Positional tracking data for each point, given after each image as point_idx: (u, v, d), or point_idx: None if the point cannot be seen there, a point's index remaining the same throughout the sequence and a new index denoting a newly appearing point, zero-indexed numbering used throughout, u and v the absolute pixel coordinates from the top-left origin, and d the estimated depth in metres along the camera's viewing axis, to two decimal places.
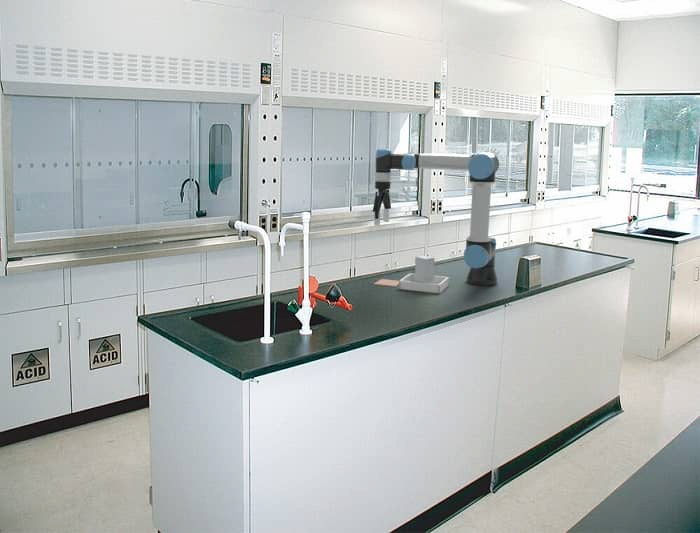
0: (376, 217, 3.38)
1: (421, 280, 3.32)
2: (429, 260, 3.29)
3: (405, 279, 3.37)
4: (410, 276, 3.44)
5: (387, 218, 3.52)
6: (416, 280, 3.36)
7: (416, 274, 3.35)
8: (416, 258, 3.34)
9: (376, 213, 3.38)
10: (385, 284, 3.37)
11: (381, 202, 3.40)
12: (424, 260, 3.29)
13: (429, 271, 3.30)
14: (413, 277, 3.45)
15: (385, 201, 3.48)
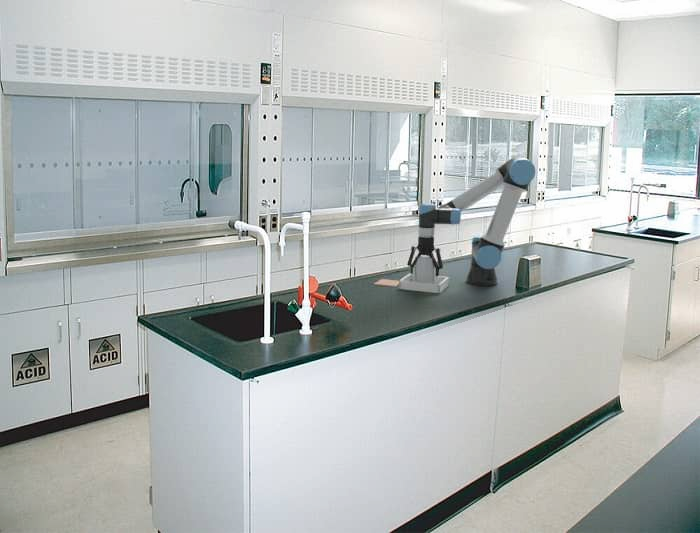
0: None
1: (421, 280, 3.32)
2: (429, 260, 3.29)
3: (405, 279, 3.37)
4: (410, 276, 3.44)
5: None
6: (416, 280, 3.36)
7: (416, 274, 3.35)
8: None
9: None
10: (385, 284, 3.37)
11: (417, 257, 3.33)
12: (424, 260, 3.29)
13: (429, 271, 3.30)
14: None
15: None
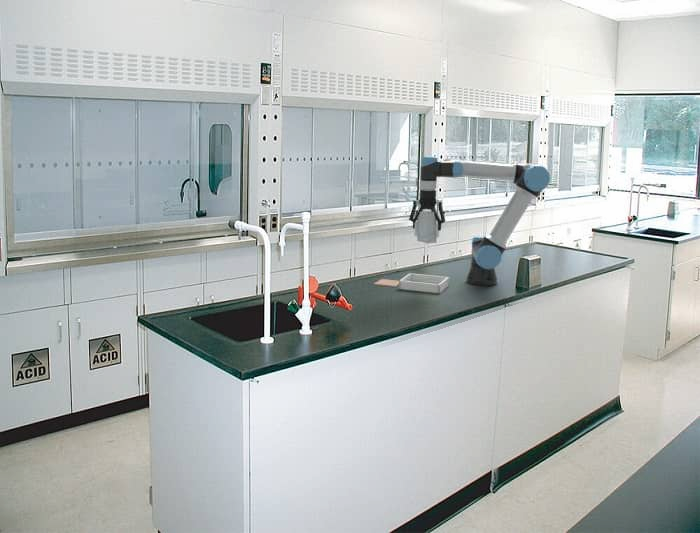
0: None
1: (423, 235, 3.28)
2: (431, 214, 3.25)
3: (405, 279, 3.37)
4: (410, 276, 3.44)
5: None
6: (418, 235, 3.31)
7: (418, 229, 3.30)
8: None
9: None
10: (385, 284, 3.37)
11: (419, 212, 3.28)
12: (426, 214, 3.24)
13: (431, 225, 3.26)
14: (413, 277, 3.45)
15: None
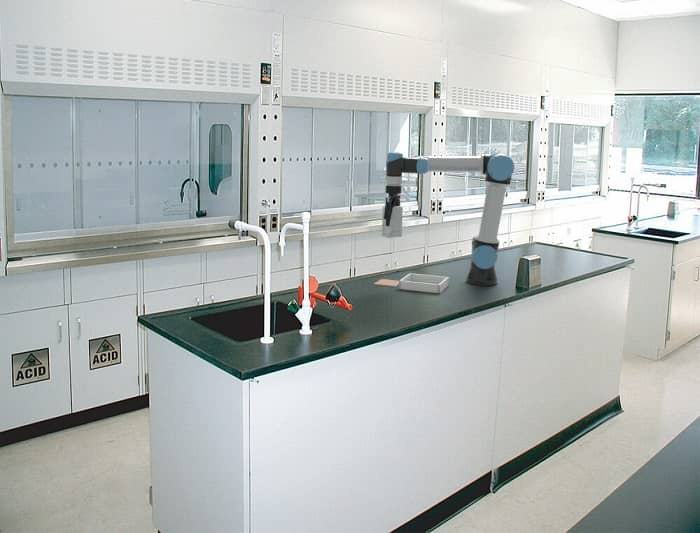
0: (387, 224, 3.28)
1: (397, 229, 3.33)
2: None
3: (405, 279, 3.37)
4: (410, 276, 3.44)
5: None
6: None
7: None
8: None
9: (387, 220, 3.28)
10: (385, 284, 3.37)
11: (392, 208, 3.29)
12: (401, 208, 3.32)
13: None
14: (413, 277, 3.45)
15: None
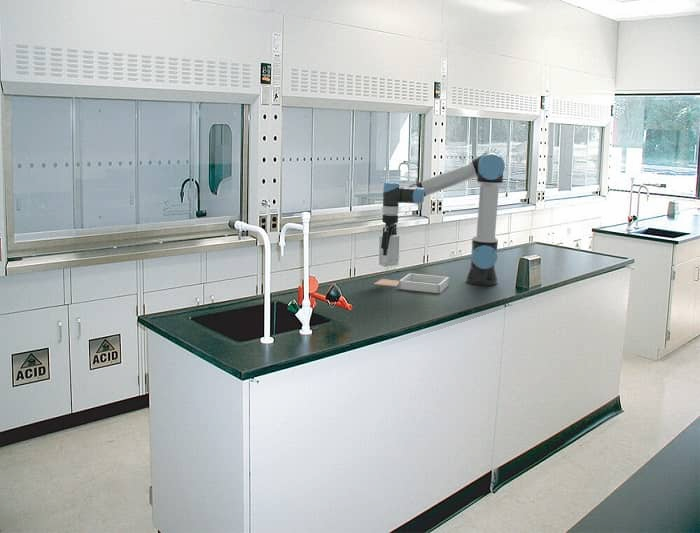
0: (384, 254, 3.32)
1: (394, 258, 3.37)
2: None
3: (405, 279, 3.37)
4: (410, 276, 3.44)
5: None
6: None
7: None
8: None
9: (384, 250, 3.31)
10: (385, 284, 3.37)
11: (389, 237, 3.32)
12: (398, 237, 3.35)
13: None
14: (413, 277, 3.45)
15: None
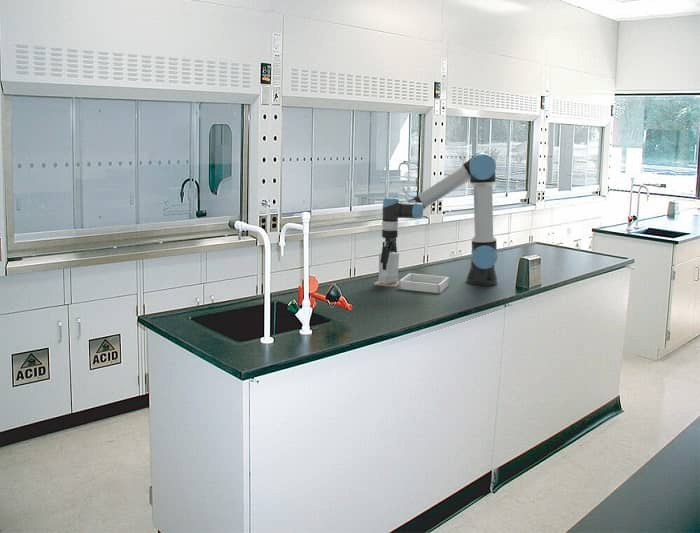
0: (384, 268, 3.33)
1: (393, 275, 3.38)
2: None
3: (405, 279, 3.37)
4: (410, 276, 3.44)
5: None
6: (387, 278, 3.36)
7: None
8: None
9: (384, 264, 3.32)
10: (385, 284, 3.37)
11: (389, 252, 3.34)
12: (397, 255, 3.37)
13: None
14: (413, 277, 3.45)
15: (392, 250, 3.41)
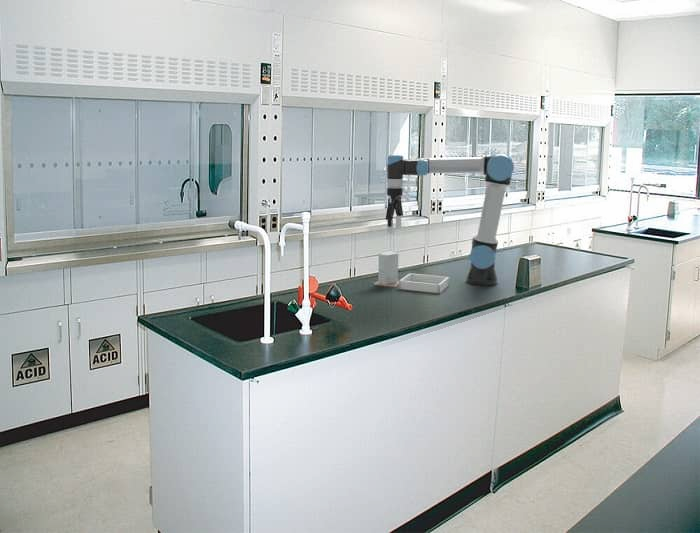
0: (389, 225, 3.29)
1: (393, 276, 3.38)
2: None
3: (405, 279, 3.37)
4: (410, 276, 3.44)
5: (399, 226, 3.43)
6: (387, 278, 3.36)
7: (387, 272, 3.35)
8: (387, 256, 3.33)
9: (389, 221, 3.29)
10: None
11: (394, 209, 3.31)
12: (397, 255, 3.36)
13: None
14: (413, 277, 3.45)
15: (397, 208, 3.39)
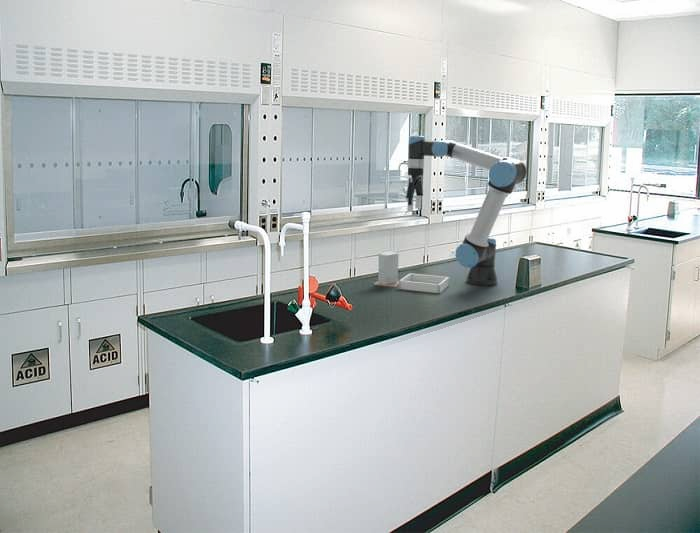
0: (409, 203, 3.39)
1: (393, 276, 3.38)
2: None
3: (405, 279, 3.37)
4: (410, 276, 3.44)
5: (419, 205, 3.53)
6: (387, 278, 3.36)
7: (387, 272, 3.35)
8: (387, 256, 3.33)
9: (409, 199, 3.39)
10: None
11: (414, 188, 3.41)
12: (397, 255, 3.36)
13: None
14: (413, 277, 3.45)
15: (417, 188, 3.49)
